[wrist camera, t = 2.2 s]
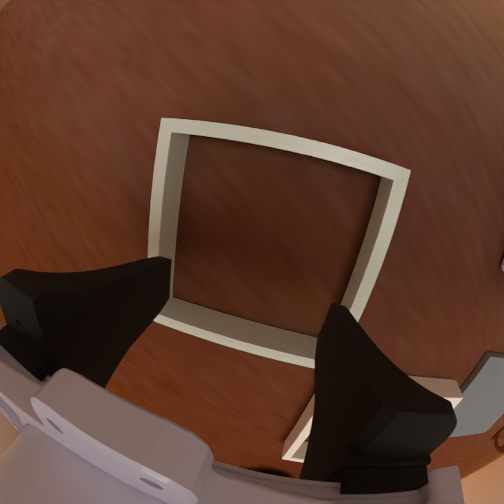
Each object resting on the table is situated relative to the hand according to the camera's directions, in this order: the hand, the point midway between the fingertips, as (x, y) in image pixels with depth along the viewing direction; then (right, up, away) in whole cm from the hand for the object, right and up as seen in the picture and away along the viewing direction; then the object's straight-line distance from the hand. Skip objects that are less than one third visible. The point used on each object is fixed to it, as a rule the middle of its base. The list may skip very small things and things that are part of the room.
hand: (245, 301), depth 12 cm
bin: (+1, +3, +6) cm, 6 cm away
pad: (+27, -15, +7) cm, 31 cm away
